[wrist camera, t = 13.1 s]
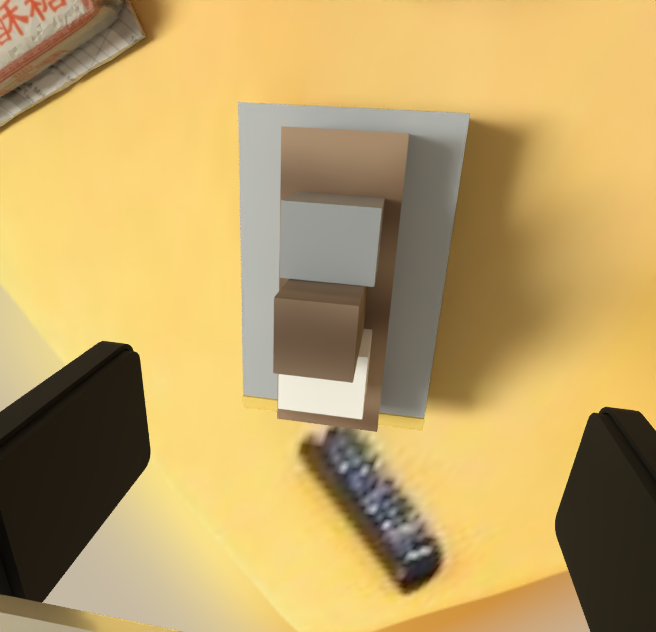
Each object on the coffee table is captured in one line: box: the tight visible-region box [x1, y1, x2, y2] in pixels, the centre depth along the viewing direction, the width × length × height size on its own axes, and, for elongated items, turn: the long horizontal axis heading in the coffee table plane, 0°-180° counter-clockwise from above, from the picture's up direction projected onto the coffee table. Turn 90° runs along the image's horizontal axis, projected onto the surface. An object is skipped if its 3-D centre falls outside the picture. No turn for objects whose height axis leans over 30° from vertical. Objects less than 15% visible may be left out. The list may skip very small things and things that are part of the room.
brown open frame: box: [273, 126, 409, 432], centre depth 27 cm, size 19×7×10 cm, turn 177°
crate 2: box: [278, 329, 372, 419], centre depth 28 cm, size 4×5×4 cm
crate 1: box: [280, 192, 385, 287], centre depth 25 cm, size 4×5×4 cm
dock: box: [238, 102, 470, 431], centre depth 34 cm, size 22×14×5 cm, turn 177°
